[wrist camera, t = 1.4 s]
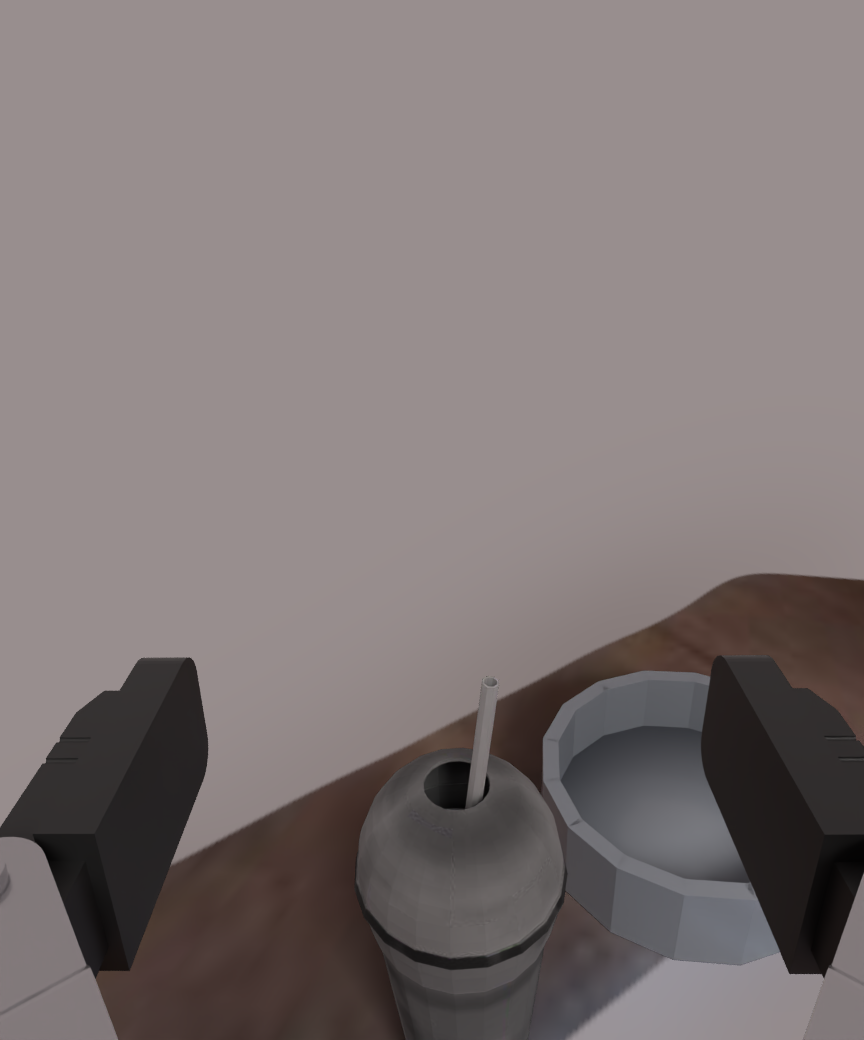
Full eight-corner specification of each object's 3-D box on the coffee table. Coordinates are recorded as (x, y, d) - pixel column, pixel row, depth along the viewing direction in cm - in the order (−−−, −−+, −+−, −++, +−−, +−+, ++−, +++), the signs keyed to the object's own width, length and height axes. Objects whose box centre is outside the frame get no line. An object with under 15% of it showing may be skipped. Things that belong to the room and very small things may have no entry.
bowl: (846, 781, 44) (864, 720, 42) (814, 1022, 33) (836, 957, 31) (593, 701, 51) (597, 645, 48) (496, 881, 40) (495, 818, 37)
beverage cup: (424, 941, 37) (395, 582, 27) (577, 1002, 34) (606, 627, 25) (347, 1103, 31) (276, 721, 22) (523, 1192, 29) (533, 800, 19)
